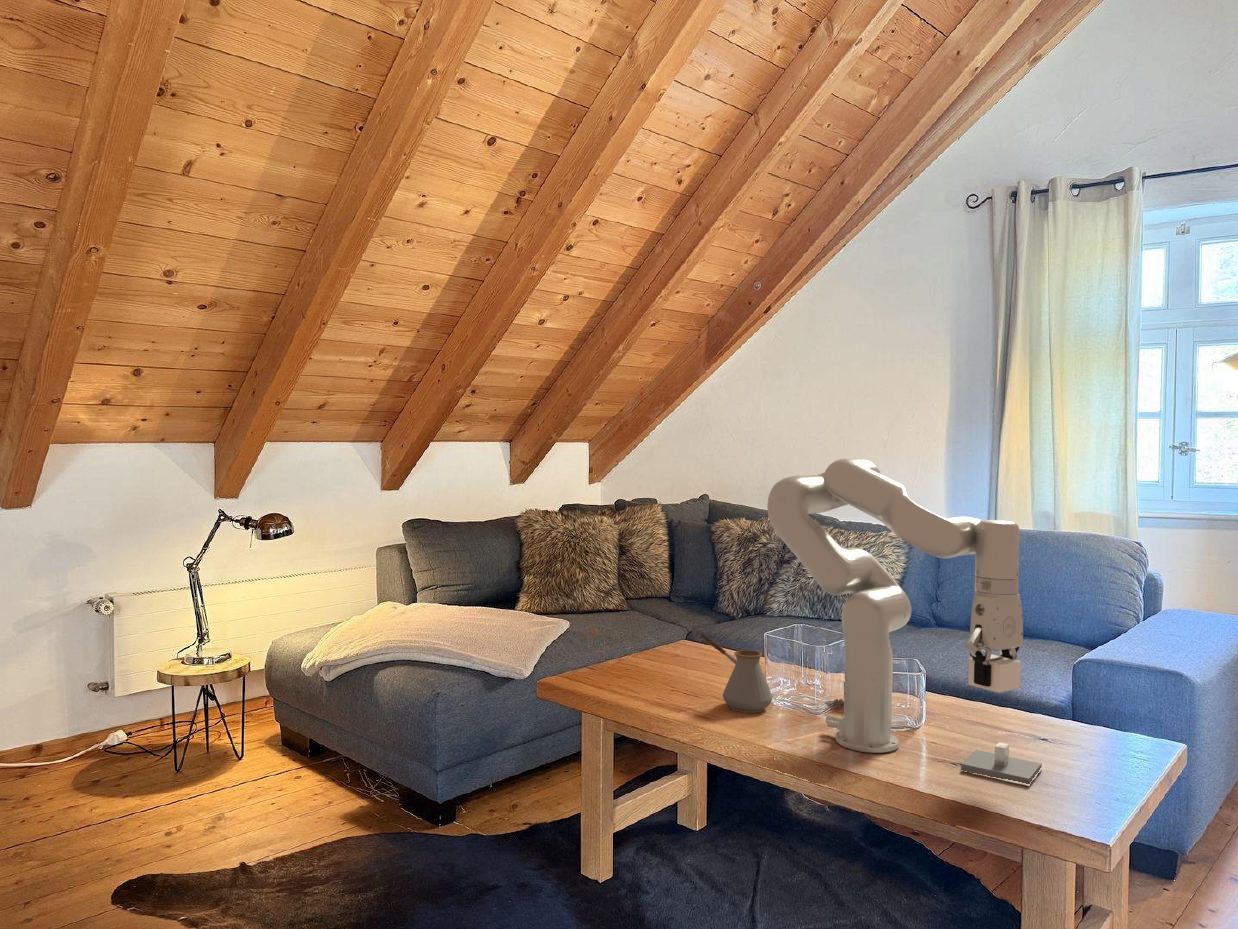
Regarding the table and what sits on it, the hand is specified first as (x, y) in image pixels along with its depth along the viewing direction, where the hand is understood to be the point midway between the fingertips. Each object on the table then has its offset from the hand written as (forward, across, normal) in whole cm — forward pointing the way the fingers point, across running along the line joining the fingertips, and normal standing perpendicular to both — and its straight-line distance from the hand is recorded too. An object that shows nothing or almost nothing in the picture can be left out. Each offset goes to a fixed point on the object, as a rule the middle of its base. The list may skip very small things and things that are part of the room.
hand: (994, 681), depth 168 cm
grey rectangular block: (+16, +3, 0) cm, 16 cm away
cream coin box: (+1, 0, 0) cm, 1 cm away
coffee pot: (+18, -13, +60) cm, 64 cm away
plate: (+18, +3, 0) cm, 18 cm away
